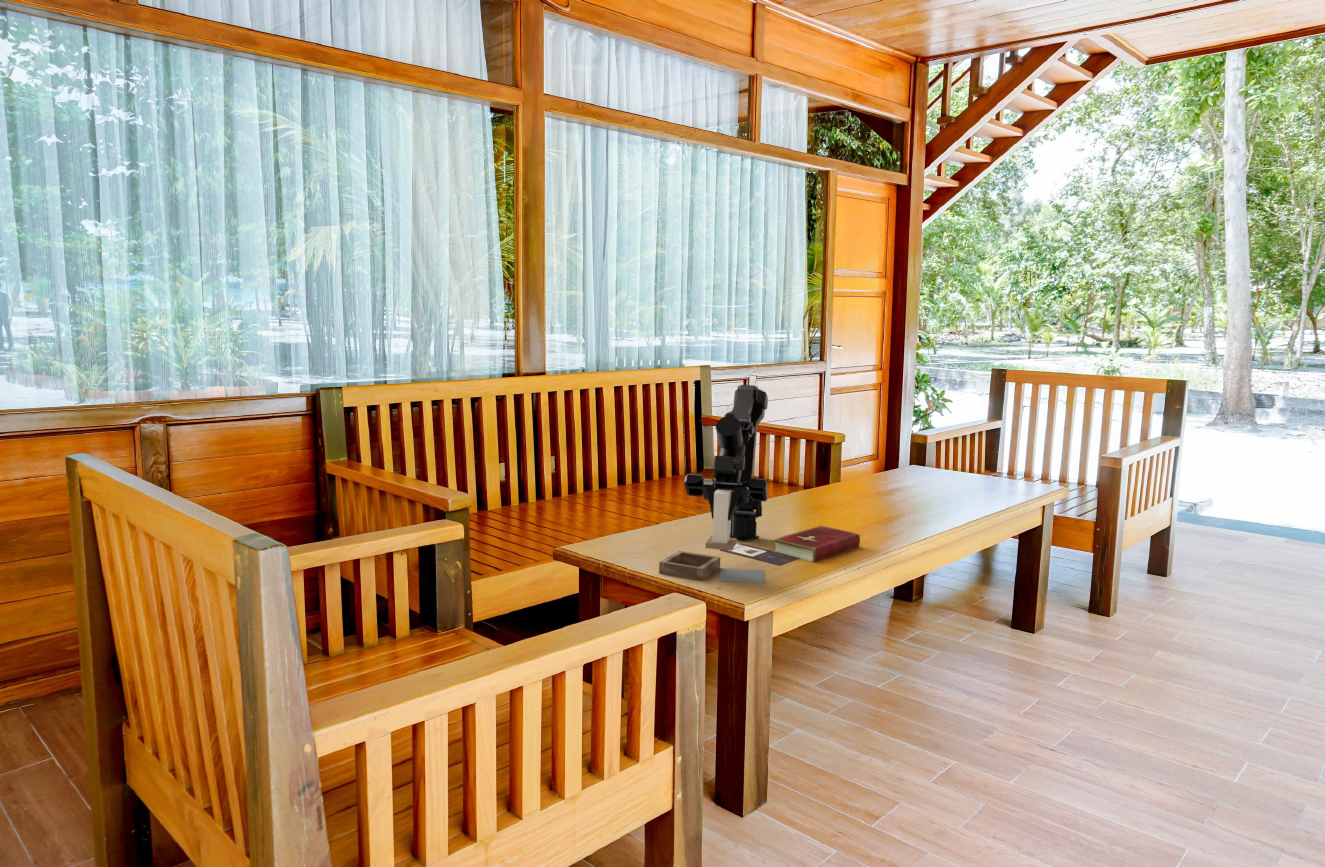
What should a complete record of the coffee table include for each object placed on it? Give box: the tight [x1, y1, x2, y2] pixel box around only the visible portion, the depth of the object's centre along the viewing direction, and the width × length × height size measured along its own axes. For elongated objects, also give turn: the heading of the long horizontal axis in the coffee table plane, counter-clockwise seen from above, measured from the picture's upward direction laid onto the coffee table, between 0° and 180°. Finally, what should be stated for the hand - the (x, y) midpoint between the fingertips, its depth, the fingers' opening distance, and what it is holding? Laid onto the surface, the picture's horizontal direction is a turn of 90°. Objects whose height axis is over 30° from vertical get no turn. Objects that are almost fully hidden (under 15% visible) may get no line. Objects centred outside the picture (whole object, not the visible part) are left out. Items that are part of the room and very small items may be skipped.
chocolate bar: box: [719, 542, 801, 567], centre depth 218 cm, size 9×1×18 cm
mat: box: [719, 567, 766, 585], centre depth 200 cm, size 10×10×1 cm
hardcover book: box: [773, 524, 861, 563], centre depth 223 cm, size 12×21×4 cm, turn 137°
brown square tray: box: [658, 550, 721, 581], centre depth 203 cm, size 11×11×3 cm
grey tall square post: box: [705, 489, 737, 551], centre depth 199 cm, size 6×6×12 cm
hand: (720, 518), depth 198 cm, fingers closed on grey tall square post, 3 cm apart
